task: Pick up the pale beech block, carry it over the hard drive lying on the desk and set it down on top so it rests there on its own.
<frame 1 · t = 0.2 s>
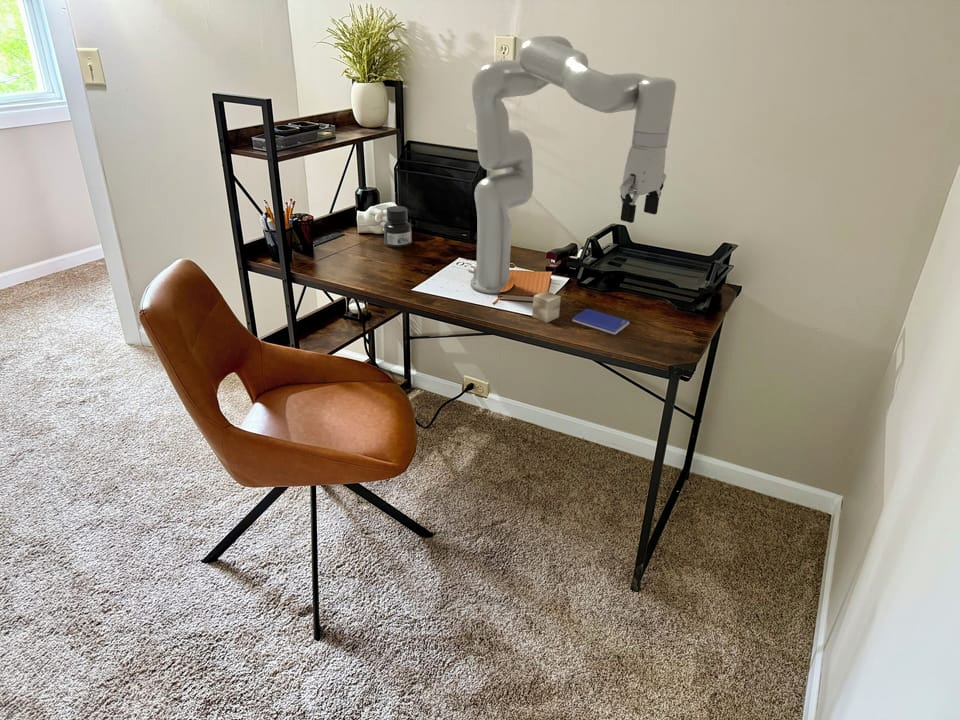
hand: (638, 217, 153), 31 cm above the table, tool pointing down, fingers open, 9 cm apart
beech block: (545, 317, 177), on the table
ink bottle: (398, 244, 224), on the table
hard drive: (600, 325, 175), on the table
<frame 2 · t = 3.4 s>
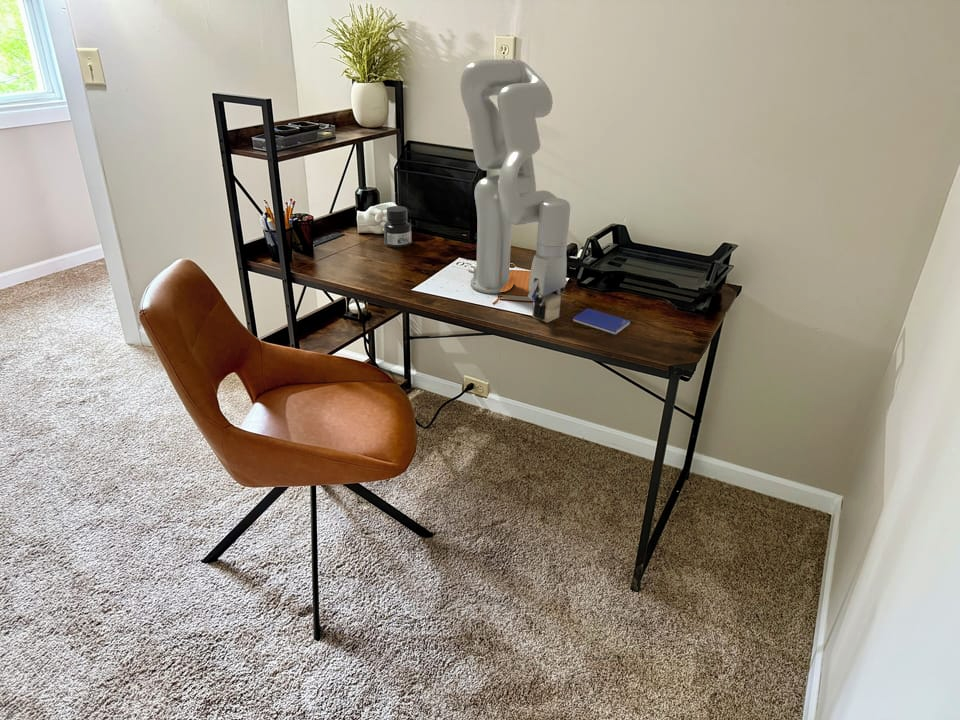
hand: (545, 314, 176), 1 cm above the table, tool pointing down, fingers closed on beech block, 5 cm apart
beech block: (545, 316, 177), on the table, touching gripper
everything else where it was.
when the fingers open (4 cm above the table, at t = 8.1 s): beech block drops 2 cm, resting on hard drive.
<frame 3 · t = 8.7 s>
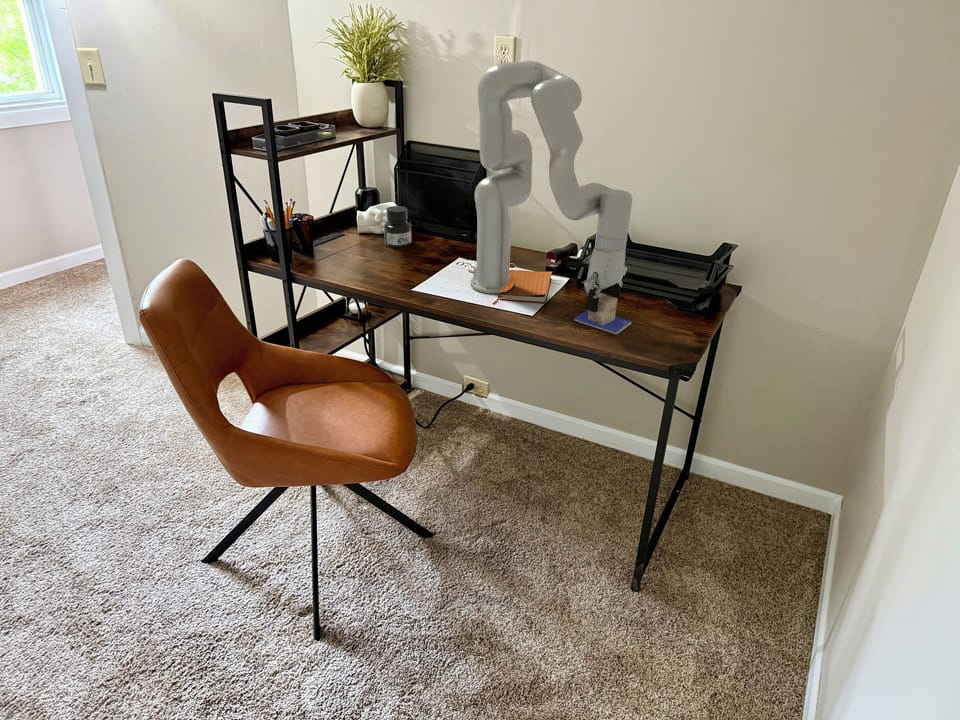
hand: (602, 305, 172), 5 cm above the table, tool pointing down, fingers open, 9 cm apart
beech block: (601, 319, 174), point 1 cm above the table, touching hard drive
hard drive: (602, 325, 175), on the table, touching beech block
everything else where it was.
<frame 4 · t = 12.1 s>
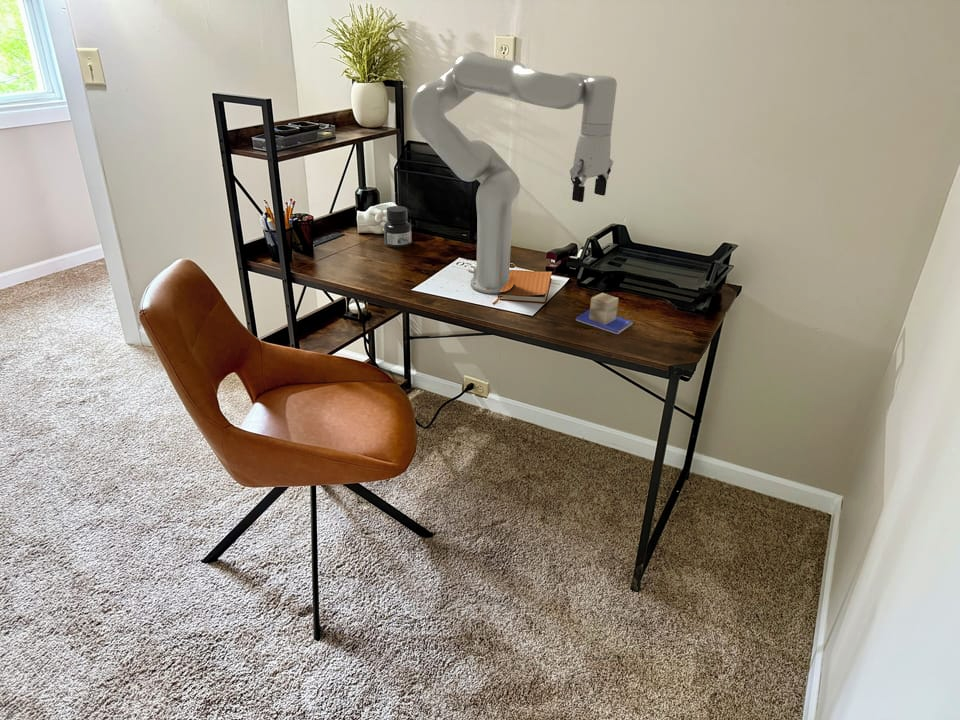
hand: (588, 197, 175), 28 cm above the table, tool pointing down, fingers open, 9 cm apart
nothing on the table moved.
at the end: beech block inside the target area on the hard drive (0.6 cm from its centre), point 1.8 cm above the hard drive's base; beech block tilted 0°; the gripper is holding nothing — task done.
